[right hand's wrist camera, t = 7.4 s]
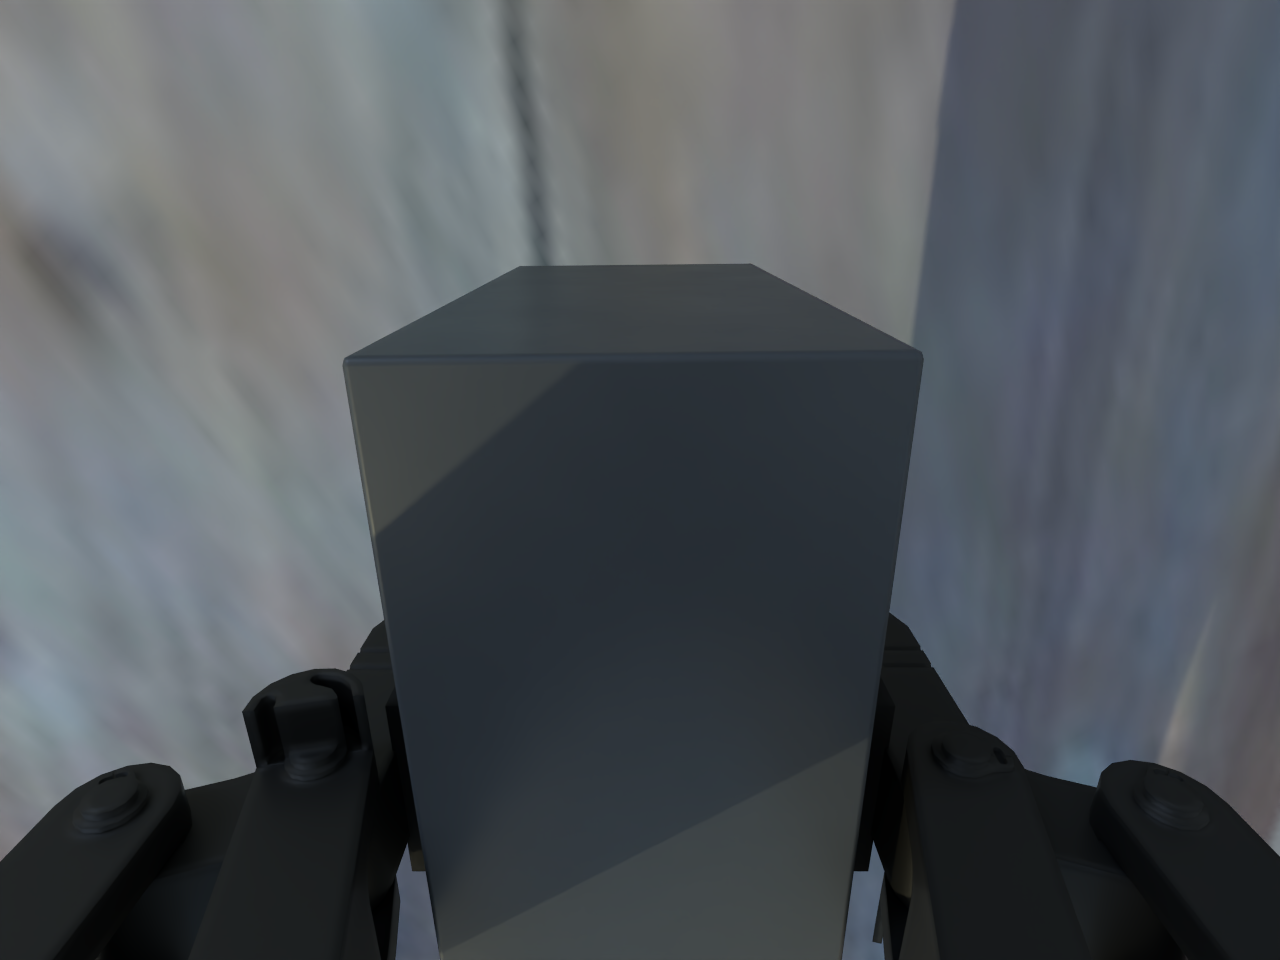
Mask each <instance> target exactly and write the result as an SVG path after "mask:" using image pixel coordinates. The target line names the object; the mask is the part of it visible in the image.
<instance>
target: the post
mask: <svg viewBox="0 0 1280 960" xmlns="http://www.w3.org/2000/svg"><path fill="white" fill-rule="evenodd" d="M923 360H924V358H923V355H922V352H921V351H919V350H917V349H915V348H913V347H911V346H909V345H907V344H905V343H903V342H901V341H899V340H897V339H896V338H894V337H892V336H890V335H888V334H886V333H884V332H882V331H880V330H878V329H876V328H874V327H872V326H870V325H869V324H867V323H865V322H863V321H861V320H859V319H857V318H855V317H853V316H851V315H849V314H847V313H845V312H843V311H841V310H840V309H838V308H836V307H834V306H832V305H830V304H828V303H826V302H824V301H822V300H820V299H818V298H816V297H814V296H813V295H811V294H809V293H807V292H805V291H803V290H801V289H799V288H797V287H795V286H793V285H791V284H789V283H787V282H786V281H784V280H782V279H780V278H778V277H776V276H774V275H772V274H770V273H768V272H766V271H764V270H762V269H760V268H758V267H757V266H755V265H752V264H685V265H592V266H519V267H517V268H515V269H513V270H512V271H510V272H508V273H506V274H504V275H502V276H500V277H498V278H496V279H494V280H492V281H491V282H489V283H487V284H485V285H483V286H481V287H479V288H477V289H475V290H473V291H471V292H470V293H468V294H466V295H464V296H462V297H460V298H458V299H456V300H454V301H452V302H451V303H449V304H447V305H445V306H443V307H441V308H439V309H437V310H435V311H433V312H431V313H430V314H428V315H426V316H424V317H422V318H420V319H418V320H416V321H414V322H412V323H411V324H409V325H407V326H405V327H403V328H401V329H399V330H397V331H395V332H393V333H391V334H390V335H388V336H386V337H384V338H382V339H380V340H378V341H376V342H374V343H372V344H371V345H369V346H367V347H365V348H363V349H361V350H359V351H357V352H355V353H353V354H351V355H350V356H348V357H346V358H344V361H343V371H344V377H345V383H346V389H347V396H348V402H349V408H350V414H351V420H352V426H353V432H354V438H355V444H356V450H357V456H358V462H359V469H360V475H361V481H362V487H363V493H364V499H365V505H366V511H367V517H368V523H369V529H370V535H371V541H372V548H373V554H374V560H375V566H376V572H377V578H378V584H379V590H380V596H381V602H382V608H383V614H384V621H385V627H386V633H387V639H388V645H389V651H390V657H391V663H392V669H393V675H394V681H395V687H396V693H397V700H398V706H399V712H400V718H401V724H402V730H403V736H404V742H405V748H406V754H407V760H408V766H409V772H410V779H411V785H412V791H413V797H414V803H415V809H416V815H417V821H418V827H419V833H420V839H421V845H422V852H423V858H424V864H425V870H426V876H427V882H428V888H429V894H430V900H431V906H432V912H433V918H434V924H435V931H436V937H437V943H438V949H439V955H440V960H842V953H843V945H844V938H845V931H846V923H847V916H848V909H849V901H850V894H851V887H852V880H853V872H854V865H855V858H856V850H857V843H858V836H859V828H860V821H861V814H862V806H863V799H864V792H865V784H866V777H867V770H868V762H869V755H870V748H871V741H872V733H873V726H874V719H875V711H876V704H877V697H878V689H879V682H880V675H881V667H882V660H883V653H884V645H885V638H886V631H887V623H888V616H889V609H890V602H891V594H892V587H893V580H894V572H895V565H896V558H897V550H898V543H899V536H900V528H901V521H902V514H903V506H904V499H905V492H906V484H907V477H908V470H909V463H910V455H911V448H912V441H913V433H914V426H915V419H916V411H917V404H918V397H919V389H920V382H921V375H922V367H923Z"/></svg>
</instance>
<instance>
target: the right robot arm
mask: <svg viewBox="0 0 1280 960" xmlns="http://www.w3.org/2000/svg"><path fill="white" fill-rule="evenodd" d="M242 713H243V717H244V721H245V725H246V728H247V732H248V736H249V740H250V744H251V748H252V752H253V756H254V759H255V763H256V767H257V768H256V771H255V772H254V773H251V774H248V775H245V776H241V777H238V778H235V779H231V780H226V781H222V782H218V783H213V784H209V785H205V786H201V787H196V788H192V789H188V790H184V786H183V783H182V780H181V777H180V775H179V774H178V773H177V772H176V771H175V770H173V769H172V768H171V767H170V766H166V765H161V764H155V763H146V764H138V765H130V766H126V767H123V768H120V769H117V770H114V771H111V772H108V773H105V774H102V775H100V776H98V777H96V778H94V779H93V780H91V781H89V782H87V783H85V784H84V785H82V786H80V787H78V788H76V789H75V790H74V791H72V792H71V793H70V794H69V795H67V796H66V797H65V798H64V799H63V800H61V801H60V802H59V803H58V804H56V805H55V806H54V807H53V808H52V809H51V810H50V811H49V812H48V813H47V814H46V815H45V816H44V817H43V818H42V819H41V820H40V821H39V823H38V824H37V825H36V826H35V827H34V828H33V829H32V830H31V831H30V832H29V833H28V834H27V835H26V836H25V837H24V838H23V839H22V840H21V841H20V842H19V843H18V844H17V845H16V846H15V847H14V848H13V849H12V850H11V851H10V852H9V853H8V854H7V855H6V856H5V857H4V859H3V860H2V861H1V862H0V960H395V957H396V945H397V933H398V922H399V910H400V896H399V889H398V883H397V878H396V873H397V870H398V867H399V865H400V862H401V859H402V856H403V854H404V851H405V848H406V845H407V842H408V848H409V854H410V860H411V866H412V871H426V870H425V864H424V858H423V852H422V845H421V839H420V833H419V827H418V821H417V815H416V809H415V803H414V797H413V791H412V785H411V779H410V772H409V766H408V760H407V754H406V748H405V742H404V736H403V730H402V724H401V718H400V712H399V706H398V700H397V693H396V687H395V681H394V675H393V669H392V663H391V657H390V651H389V645H388V639H387V633H386V627H385V621H382V622H381V623H380V624H378V625H377V626H376V627H374V628H373V629H372V631H371V633H370V634H369V636H368V637H367V639H366V641H365V642H364V644H363V646H362V647H361V651H360V653H358V654H357V655H356V657H355V658H354V660H353V662H352V663H351V665H350V670H347V671H342V670H339V669H313V670H308V671H304V672H300V673H296V674H292V675H289V676H287V677H285V678H283V679H281V680H278V681H276V682H274V683H272V684H270V685H268V686H267V687H266V688H264V689H263V690H262V691H260V692H259V693H258V694H256V695H255V696H254V697H253V698H252V699H251V700H250V702H249V703H248V704H247V706H246V707H245V709H244V710H243V711H242ZM873 841H874V843H875V846H876V849H877V852H878V854H879V857H880V860H881V863H882V865H883V868H884V871H885V872H884V878H883V883H882V889H881V894H880V900H879V906H878V911H877V917H876V923H875V929H874V935H873V942H876V943H882V938H883V943H884V955H885V960H1280V856H1279V855H1278V854H1277V853H1276V852H1275V851H1274V850H1273V849H1272V848H1271V847H1270V846H1269V845H1268V844H1267V843H1266V842H1265V841H1264V840H1263V839H1262V838H1261V837H1260V836H1259V835H1258V834H1257V833H1256V832H1255V831H1254V830H1253V829H1252V828H1251V827H1250V826H1249V825H1248V824H1247V823H1246V822H1245V821H1244V820H1243V819H1242V818H1241V817H1240V816H1239V815H1238V814H1237V813H1236V812H1235V810H1234V809H1233V808H1232V807H1231V806H1230V805H1229V804H1228V803H1226V802H1225V801H1224V800H1223V799H1222V798H1220V797H1219V796H1218V795H1217V794H1215V793H1214V792H1213V791H1212V790H1210V789H1209V788H1208V787H1207V786H1205V785H1203V784H1202V783H1200V782H1198V781H1196V780H1194V779H1192V778H1191V777H1189V776H1187V775H1185V774H1183V773H1181V772H1179V771H1176V770H1173V769H1170V768H1167V767H1164V766H1161V765H1158V764H1155V763H1150V762H1142V761H1134V760H1128V761H1122V762H1116V763H1112V764H1111V765H1109V766H1108V767H1107V768H1106V769H1105V770H1104V771H1103V772H1101V776H1100V779H1099V782H1098V785H1097V788H1096V787H1092V786H1088V785H1084V784H1079V783H1075V782H1071V781H1066V780H1062V779H1058V778H1053V777H1049V776H1045V775H1042V774H1039V773H1035V772H1032V771H1029V770H1026V769H1024V767H1023V765H1022V764H1021V762H1020V761H1019V759H1018V757H1017V756H1016V754H1015V753H1014V751H1013V750H1012V749H1010V748H1009V747H1008V746H1007V745H1006V744H1004V743H1003V742H1002V741H1001V740H1000V739H999V738H997V737H996V736H994V735H992V734H990V733H988V732H986V731H984V730H982V729H980V728H978V727H975V726H971V725H969V724H968V722H967V720H966V719H965V717H964V716H963V714H962V712H961V711H960V709H959V708H958V706H957V704H956V703H955V701H954V700H953V698H952V696H951V695H950V693H949V692H948V690H947V688H946V687H945V685H944V684H943V682H942V680H941V679H940V677H939V676H938V674H937V672H936V671H935V669H934V668H933V667H931V663H930V661H929V660H928V658H927V656H926V655H925V653H924V652H923V650H920V645H919V644H918V642H917V640H916V639H915V637H914V636H913V634H912V632H911V631H910V629H909V627H908V626H907V625H905V624H904V623H903V622H901V621H900V620H899V619H897V618H896V617H895V616H893V615H892V614H891V613H889V616H888V623H887V631H886V638H885V645H884V653H883V660H882V667H881V675H880V682H879V689H878V697H877V704H876V711H875V719H874V726H873V733H872V741H871V748H870V755H869V762H868V770H867V777H866V784H865V792H864V799H863V806H862V814H861V821H860V828H859V836H858V843H857V850H856V858H855V865H854V871H868V869H869V863H870V857H871V851H872V845H873Z"/></svg>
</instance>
